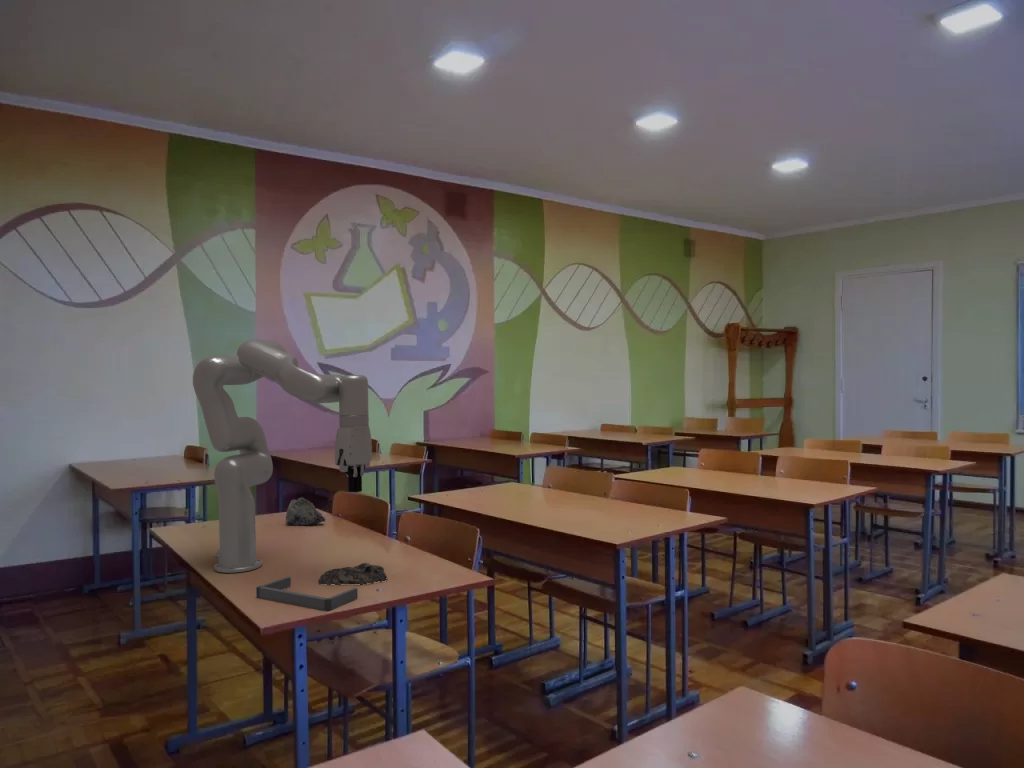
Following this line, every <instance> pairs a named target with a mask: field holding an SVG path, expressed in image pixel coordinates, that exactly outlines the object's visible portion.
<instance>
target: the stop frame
mask: <svg viewBox="0 0 1024 768" xmlns="http://www.w3.org/2000/svg"><path fill="white" fill-rule="evenodd" d="M290 586H291V587H292V577H291V576H286V577H282V578H280V579H277V580H273V581H271V582H268V583H264V584H261V585H259V586H256V588H255V589H256V590H255V591H256V596H255V597H256V598H257V599H263V600H267V599H268V600H269V601H273V600H274V602H278V603H279V602H280V603H283V602H284V603H285V604H288V603H289V604H290V605H293V604H294V605H295V606H298V605H299V606H298V607H304V608H309V609H315V610H320V611H325V612H329V611H332V610H334V609H337V608H338V607H341V606H344V605H346V604H348V603H350V602H353V601H355V599H356V600H358V599H357V598H358V594H359V593H358V592H359V591H358V589H359V588H357V587H353V588H350V589H348V590H345V591H343V592H339V593H338V594H335V595H332V596H330V597H323V596H319V595H317V596H316V595H313V594H308V593H303V592H302V593H301V592H296V591H290V590H285V589H284V588H286V589H288V588H287V587H289V588H291V587H290ZM282 589H283V590H282ZM289 604H288V605H289Z"/></svg>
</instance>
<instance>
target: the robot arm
mask: <svg viewBox="0 0 1024 768" xmlns="http://www.w3.org/2000/svg"><path fill="white" fill-rule="evenodd" d="M262 378H267V379H269V380H271V381H273V382H275V383H277V384H278V385H279V386H280V387H281V389H282V390H283V391H284V392H286V393H287V394H289V395H290V396H293V397H294V398H297V399H299V400H300V401H304V402H306V403H308V404H309V403H310V404H315V405H316V404H334V403H338V410H339V411H338V414H339V418H338V419H339V427H337V429H336V430H337V431H336V435H335V442H334V443H335V444H334V463H335V465H336V466H339V467H338V470H339V471H340V472H344V473H345V474H346V477H347V479H348V480H347V481H348V482H347V483H348V492H349V493H361V492H362V491H363V478H362V477H363V476H364V475H365V474H364V472H365V470H366V469H367V468H370V467H371V464H370V463H371V462H372V459H373V446H372V445H373V443H372V435H371V434H372V433H371V429H370V426H369V425H370V424H369V421H370V417H369V416H370V415H369V380H368V377H367V376H365V375H362V374H347V375H342V374H341V375H340V374H314V373H311V372H309V371H306V370H304V369H302V368H300V367H299V361H298V359H297V357H296V356H295V355H294V354H291V353H288V352H286V349H285V347H284V346H283V345H282V344H281V343H280V342H277V341H275V340H270V339H248V340H246V341H244V342H242V343H241V344H240V345H239V346H238V348H237V351H236V355H229V354H228V355H227V354H224V355H223V354H222V355H221V354H220V355H219V354H217V355H209V356H207V357H203V359H201V360H200V361H199V362H198V363H197V364H196V366H195V368H194V370H193V375H192V387H193V390H194V392H195V396H196V397H197V400H198V402H199V403H198V404H199V405H200V408H201V411H202V414H203V419H204V422H205V423H204V424H205V425H206V426H205V427H206V430H207V433H208V436H209V440H210V444H211V445H212V447H213V449H214V450H215V451H218V452H221V453H229V452H236V451H239V454H232V455H230V456H226V457H224V458H222V459H221V460H220V461H219V462H217V464H216V465H215V468H214V471H213V473H214V474H213V478H214V482H215V487H216V491H217V497H218V498H217V500H218V527H219V531H218V532H219V537H218V538H219V549H218V550H216V552H214V553H213V555H212V557H213V558H215V559H217V562H216V563H215V564H214V565H213V568H214V569H213V570H214V571H215V572H217V573H222V574H223V573H224V574H226V573H227V574H235V573H237V574H238V573H244V572H248V571H253V570H255V569H259V568H261V566H263V561H262V560H261V559H260V558H257V545H256V543H257V540H256V537H257V531H256V503H255V497H254V496H253V493H252V492H251V489H250V487H255V486H258V485H263V484H265V483H266V482H268V481H269V480H270V478H272V475H273V471H274V470H273V469H274V466H273V465H274V464H273V460H272V456H271V452H270V450H269V444H268V442H267V438H266V434H265V431H264V429H263V427H262V425H261V424H260V422H258V420H257V419H255V418H253V417H249V416H238V414H237V411H236V409H235V404H234V401H233V399H232V398H231V396H230V394H229V393H228V392H227V391H226V390H225V388H224V386H242V385H248V384H251V383H254V382H256V381H258V380H260V379H262Z"/></svg>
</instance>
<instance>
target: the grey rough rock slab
mask: <svg viewBox="0 0 1024 768" xmlns="http://www.w3.org/2000/svg"><path fill="white" fill-rule="evenodd" d="M386 578H387V579H386ZM385 580H387V581H388V576H387V574H386V573H385V568H384V567H382V566H381V565H375V564H370V563H367V562H362V563H360V564H358V565H356V566H347V567H346V566H345V567H341V568H332V569H329V570H327V571H325V572H324V573H322V574H321V575H320V578H319V579H318V585H320V584H327V585H326V586H332V585H331V584H335V585H338V586H342V585H341V584H360V585H363V584H367V583H374V582H378V581H385ZM335 585H334V586H335Z"/></svg>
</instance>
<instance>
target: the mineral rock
mask: <svg viewBox="0 0 1024 768" xmlns="http://www.w3.org/2000/svg"><path fill="white" fill-rule="evenodd" d="M323 522H326V518H325V516H323V514H322V513H321V512H320V511H318V509H316V506H315V505H314V503H313V502H311V501H309V500H308V499H305V498H304V497H303V496H302V497H299V498H297V499H291V500H290V503H289V505H288V507H287V510H286V515H285V525H288V526H300V525H301V526H311V525H313V524H315V525H316V524H319V523H323Z"/></svg>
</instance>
